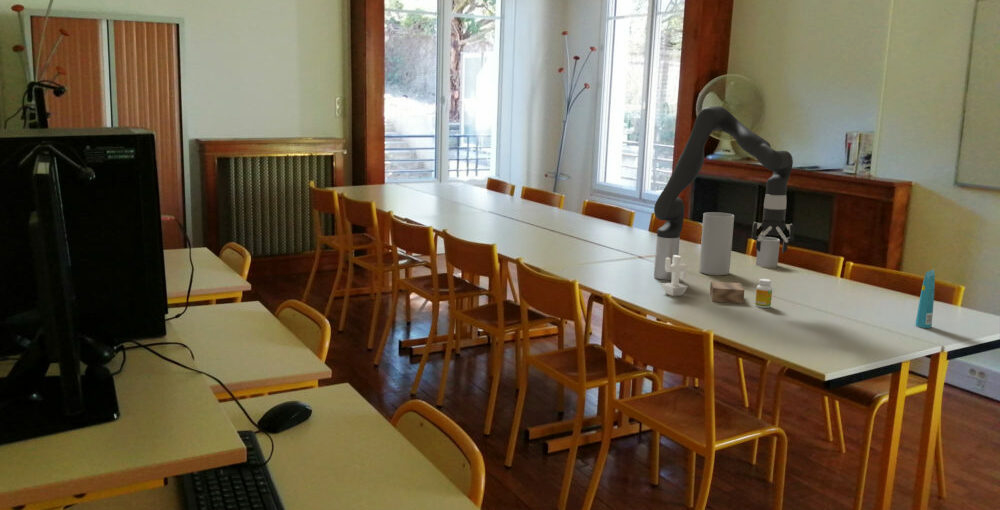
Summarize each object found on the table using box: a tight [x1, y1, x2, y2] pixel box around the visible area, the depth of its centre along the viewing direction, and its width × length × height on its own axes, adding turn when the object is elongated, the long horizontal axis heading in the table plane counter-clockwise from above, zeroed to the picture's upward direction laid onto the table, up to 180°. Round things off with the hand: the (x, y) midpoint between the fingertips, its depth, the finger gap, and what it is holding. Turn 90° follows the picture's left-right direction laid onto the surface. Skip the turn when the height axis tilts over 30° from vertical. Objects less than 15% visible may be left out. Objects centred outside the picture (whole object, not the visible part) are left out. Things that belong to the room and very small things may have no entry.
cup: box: [755, 236, 781, 269], centre depth 370 cm, size 9×9×12 cm
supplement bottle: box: [754, 278, 773, 309], centre depth 299 cm, size 5×5×10 cm
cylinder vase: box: [698, 211, 735, 277], centre depth 351 cm, size 12×12×25 cm
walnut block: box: [709, 281, 745, 304], centre depth 309 cm, size 11×11×5 cm
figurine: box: [661, 255, 689, 297], centre depth 313 cm, size 7×9×15 cm
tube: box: [915, 269, 936, 329], centre depth 277 cm, size 7×5×19 cm, turn 140°
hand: (771, 251), depth 299 cm, fingers open, 8 cm apart
